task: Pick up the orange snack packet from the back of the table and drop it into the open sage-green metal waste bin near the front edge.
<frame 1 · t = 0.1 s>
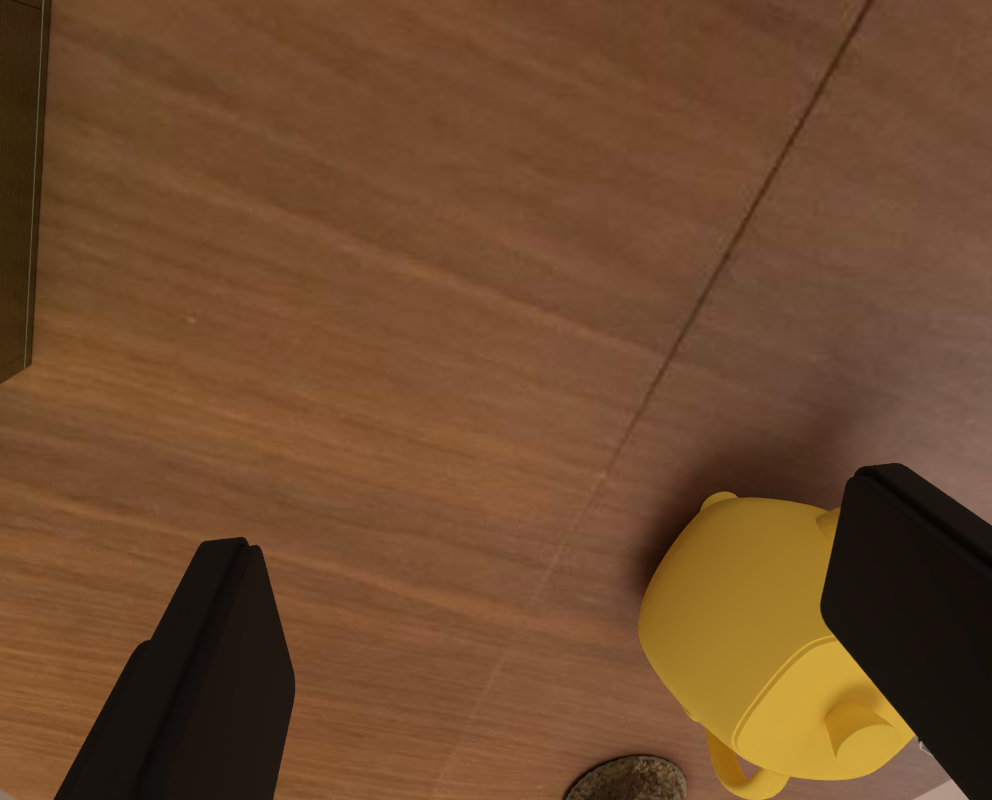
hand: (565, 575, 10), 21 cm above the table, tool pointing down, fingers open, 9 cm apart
cake: (622, 796, 47), on the table
teapot: (744, 543, 38), on the table
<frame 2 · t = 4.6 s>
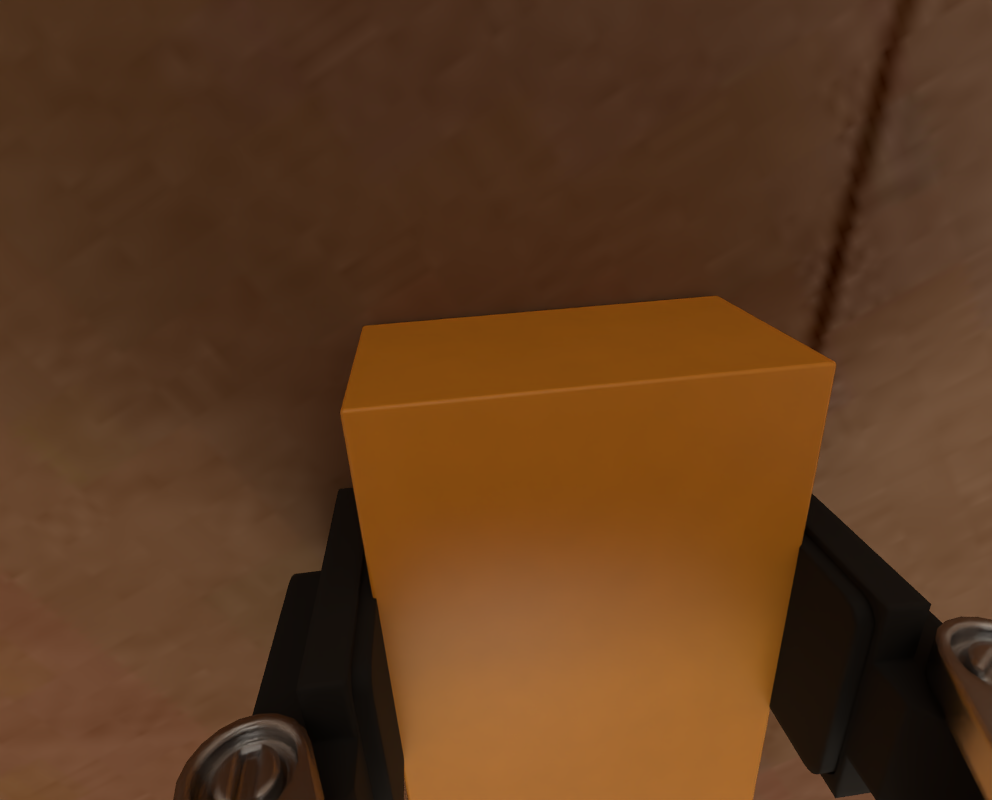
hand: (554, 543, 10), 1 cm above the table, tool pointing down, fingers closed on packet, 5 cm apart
packet: (548, 525, 11), on the table, touching gripper
when the fingers open (8 cm above the table, at t = 13.4 s): packet drops 7 cm, resting on bin.
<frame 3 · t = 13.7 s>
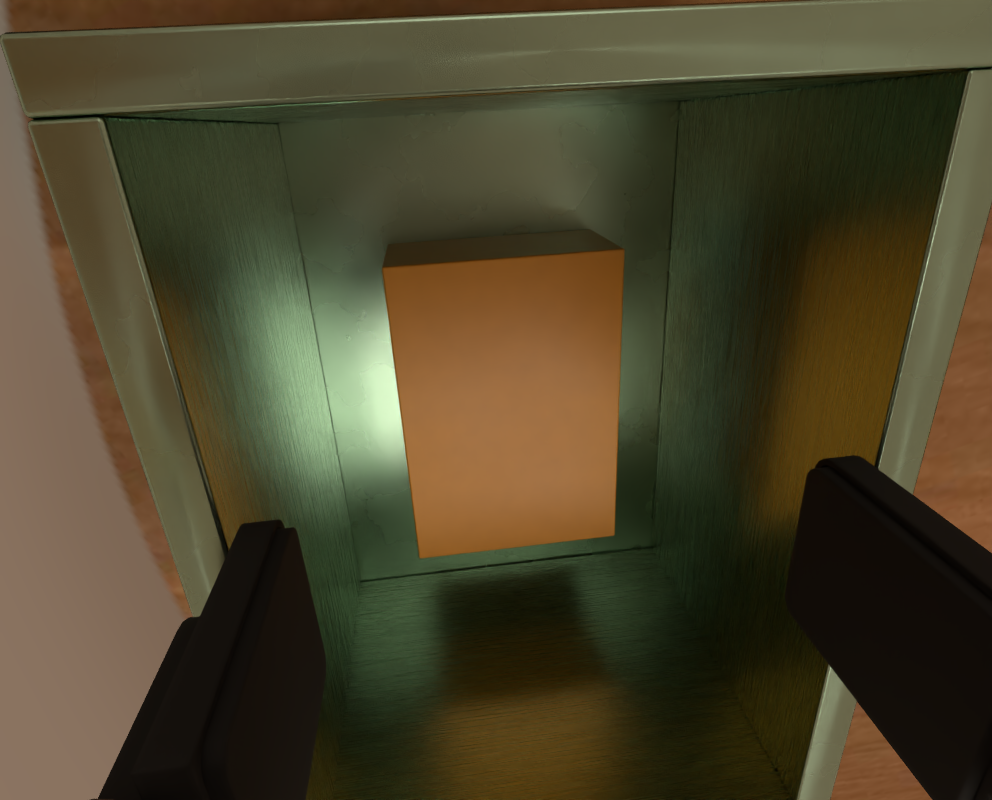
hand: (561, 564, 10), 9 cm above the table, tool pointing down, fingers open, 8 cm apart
packet: (498, 374, 18), resting on bin
bin: (496, 367, 18), on the table
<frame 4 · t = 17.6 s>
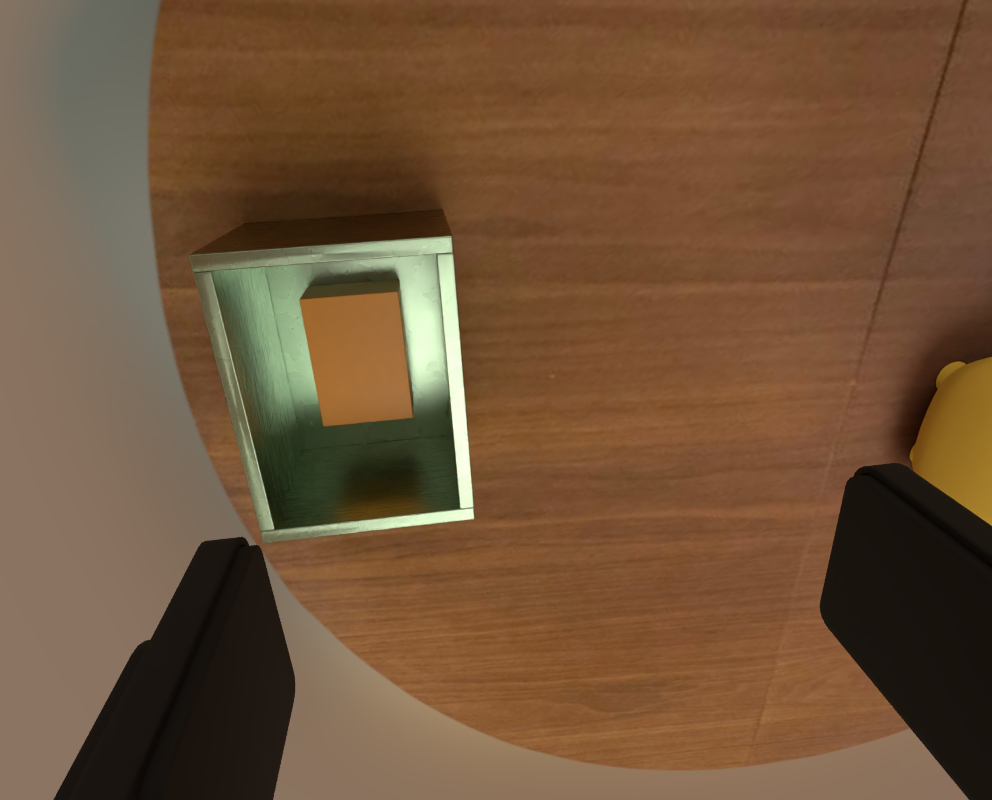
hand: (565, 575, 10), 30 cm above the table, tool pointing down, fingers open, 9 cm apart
packet: (363, 345, 39), resting on bin
bin: (363, 342, 39), on the table
teapot: (979, 396, 47), on the table
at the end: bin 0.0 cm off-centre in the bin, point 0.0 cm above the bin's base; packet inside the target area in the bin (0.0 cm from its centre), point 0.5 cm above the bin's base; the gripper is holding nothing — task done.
